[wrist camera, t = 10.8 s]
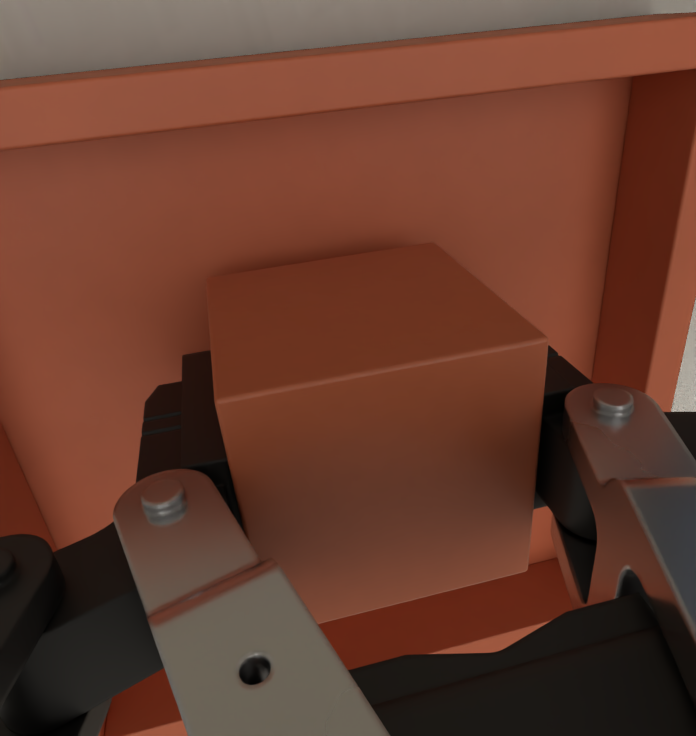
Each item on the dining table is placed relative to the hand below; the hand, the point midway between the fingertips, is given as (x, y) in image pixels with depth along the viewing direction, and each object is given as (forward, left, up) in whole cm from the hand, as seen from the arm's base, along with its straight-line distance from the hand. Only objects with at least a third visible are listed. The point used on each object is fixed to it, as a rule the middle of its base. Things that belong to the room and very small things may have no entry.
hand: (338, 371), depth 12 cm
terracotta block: (0, 0, 0) cm, 0 cm away
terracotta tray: (0, -2, -2) cm, 3 cm away
